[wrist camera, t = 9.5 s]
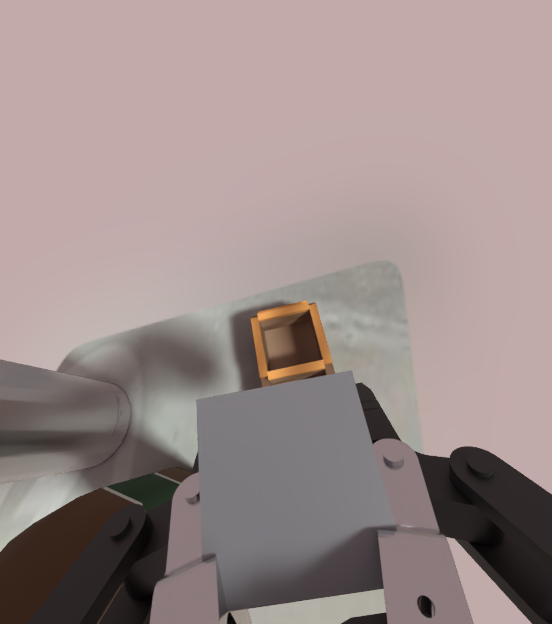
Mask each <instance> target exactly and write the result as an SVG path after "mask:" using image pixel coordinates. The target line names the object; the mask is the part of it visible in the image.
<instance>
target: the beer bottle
mask: <svg viewBox="0 0 552 624" xmlns="http://www.w3.org/2000/svg"><path fill="white" fill-rule="evenodd" d="M189 476H191V472H188V471H186V470H183V469H181V468H178V467H177V468H170V469H166V470H163V471H159V472H156V473H152V474H149V475H145V476H142V477H138V478H135V479H131V480H128V481H124V482H121V483H117V484H114V485H110V486H107V487H103V488H100V489H98V490H95V491H93V492H90V493H88V494H85V495H83V496H80V497H78V498H76V499H75V500H73V501H71V502H69V503H68V504H66V505H64V506H63V507H61V508H59V509H58V510H56V511H54V512H52V513H51V514H49V515H47V516H46V517H44V518H42V519H41V520H39V521H37V522H35V523H34V524H32V525H31V526H30V527H28V528H27V529H26V530H24V531H23V532H22V533H20V534H19V535H18V536H16V537H15V538H14V539H12V540H11V541H10V542H9V543H8V544H7V545H6V546H5V548H4V549H3V550H2V551H1V552H0V624H27V623H28V622H29V620H30V619H31V618H32V617H33V615H34V614H35V613H36V611H37V610H38V609H39V608H40V606H41V605H42V604H43V602H44V601H45V600H46V599H47V597H48V596H49V595H50V593H51V592H52V591H53V589H54V588H55V587H56V586H57V584H58V583H59V582H60V580H61V579H62V578H63V577H64V575H65V574H66V573H67V571H68V570H69V569H70V568H71V566H72V565H73V564H74V562H75V561H76V560H77V559H78V557H79V556H80V555H81V553H82V552H83V551H84V550H85V548H86V547H87V546H88V544H89V543H90V542H91V541H92V539H93V538H94V537H95V535H96V534H97V533H98V532H99V530H100V529H101V528H102V526H103V525H104V524H105V523H106V521H107V520H108V519H109V518H110V517H111V516H112V515H113V514H114V513H116V512H117V511H118V510H120V509H121V508H123V507H125V506H127V505H131V504H140V505H142V506H143V507H144V509H145V510H146V512H147V511H149V510H151V509H153V508H155V507H157V506H159V505H161V504H163V503H165V502H167V501H169V500H170V499H172V498H173V496H174V493H175V491H176V489H177V488H178V486H179V485H180V484H181V483H182V482H183V481H184V480H185V479H186V478H188V477H189ZM121 586H122V585H120V587H119V589H120V588H121ZM119 589H118V590H117V592H118V591H119ZM117 592H116V593H115V595H114V597H115V596H116V594H117ZM114 597H113V598H112V600H111V602H112V601H113V599H114ZM111 602H110V603H109V605H108V606H107V608H106V610H107V609H108V607H109V606H110V604H111ZM106 610H105V611H104V613H103V615H104V614H105V612H106ZM103 615H102V616H101V618H100V620H101V619H102V617H103ZM100 620H99V621H98V623H97V624H99V622H100Z"/></svg>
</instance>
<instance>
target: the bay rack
mask: <svg viewBox="0 0 552 624" xmlns="http://www.w3.org/2000/svg"><path fill="white" fill-rule="evenodd" d="M257 315H258V316H254V317H251V324H252V330H253V337H254V343H255V350H256V356H257V363H258V369H259V376H260V378H261V383H262V387H267V386H272V385H277V384H283V383H288V382H293V381H298V380H304V379H309V378H314V377H320V376H325V375H330V374H335V372H334V368H333V365H332V359H331V355H330V352H329V348H328V345H327V341H326V337H325V334H324V330H323V327H322V323H321V320H320V316H319V313H318V309H317V305H316V304H315V303H310V304H308V302H307V301H302V302H298V303H294V304H289V305H285V306H281V307H276V308H272V309H268V310H263V311H259V312H258V314H257Z"/></svg>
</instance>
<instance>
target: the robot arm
mask: <svg viewBox="0 0 552 624" xmlns="http://www.w3.org/2000/svg"><path fill="white" fill-rule="evenodd" d="M356 388H357V391H358V395H359V398H360V402H361V405H362V409H363V412H364V416H365V419H366V423H367V427H368V430H369V434H370V437H371V441H372V444H373V448H374V451H375V455H376V458H377V462H378V465H379V469H380V472H381V476H382V479H383V483H384V486H385V490H386V493H387V497H388V500H389V504H390V507H391V511H392V514H393V518H394V521H395V525H396V528H397V529H387V528H377V531H378V540H379V549H380V558H381V568H382V577H383V586H384V596H385V605H386V613H380V614H373V615H367V616H360V617H353V618H350V619H348V620H347V621H345V622H343V623H342V624H474V623H473V620H472V617H471V614H470V610H469V608H468V604H467V601H466V598H465V594H464V591H463V588H462V585H461V581H460V578H459V575H458V572H457V569H456V565H455V563H454V559H453V556H452V553H451V550H450V547H449V544H448V541H447V539H446V537H450V538H455V539H456V541H457V542H458V543H459V544H460V545H461V546H462V547H463V548H464V549H465V550H466V552H467V553H468V554H469V555H470V556H471V557H472V558H473V559H474V560H475V561H476V563H477V564H478V565H479V566H480V567H481V568H482V569H483V570H484V571H485V572H486V573H487V575H488V576H489V577H490V578H491V579H492V580H493V581H494V582H495V583H496V584H497V586H498V587H499V588H500V589H501V590H502V591H503V592H504V593H505V594H506V595H507V596H508V598H509V599H510V600H511V601H512V602H513V603H514V604H515V605H516V606H517V608H518V609H519V610H520V611H521V612H522V613H523V614H524V615H525V616H526V617H527V618H528V619H529V621H530V622H531V623H532V624H552V494H550V493H549V492H547V491H545V490H544V489H543V488H542V487H540V486H539V485H537V484H536V483H534V482H533V481H532V480H530V479H529V478H527V477H526V476H524V475H523V474H521V473H520V472H518V471H517V470H516V469H514V468H513V467H511V466H510V465H508V464H507V463H505V462H504V461H503V460H501V459H500V458H498V457H497V456H495V455H494V454H492V453H490V452H488V451H486V450H483V449H480V448H477V447H460V448H457V449H456V450H454V451H453V452H452V453H451V455H450V458H445V457H437V456H429V455H424V454H421V453H418V452H416V451H414V450H413V449H412V448H411V447H410V446H408V445H407V444H406V443H404V442H402V441H401V440H400V438H399V437H398V435H397V433H396V432H395V430H394V428H393V427H392V425H391V423H390V421H389V420H388V418H387V416H386V415H385V413H384V411H383V409H382V408H381V406H380V404H379V403H378V401H377V400H376V398H375V396H374V394H373V392H372V391H371V389H369V388H368V387H367V386H365V385H364V384H363V383H357V384H356ZM130 417H131V410H130V403H129V399H128V397H127V395H126V394H125V392H124V391H123V390H122V389H121V388H120V387H118V386H116V385H115V384H111V383H107V382H102V381H97V380H93V379H88V378H84V377H79V376H75V375H70V374H65V373H61V372H56V371H51V370H47V369H41V368H37V367H32V366H28V365H23V364H18V363H13V362H9V361H4V360H0V484H3V483H8V482H14V481H19V480H25V479H30V478H36V477H41V476H47V475H53V474H59V473H64V472H69V471H75V470H80V469H85V468H91V467H94V466H96V465H98V464H101V463H102V462H103V461H105V460H106V459H108V458H109V457H110V456H111V455H112V454H113V453H114V452H115V451H116V450H117V448H118V447H119V446H120V444H121V443H122V441H123V439H124V437H125V435H126V433H127V430H128V427H129V424H130ZM120 585H122V586H121V588H120V589H119V587H120ZM118 589H119V591H118V592H117V590H118ZM116 592H117V594H116V596H115V597H114V595H115V593H116ZM113 597H114V599H113V601H112V602H111V600H112V598H113ZM110 602H111V604H110V606H109V607H108V609H107V610H106V608H107V606H108V605H109V603H110ZM105 610H106V612H105V614H104V615H103V613H104V611H105ZM102 615H103V617H102V619H101V620H100V618H101V616H102ZM99 620H100V622H99V624H252V622H251V618H250V615H249V611H248V609H243V610H236V611H229V612H228V610H227V605H226V600H225V595H224V590H223V585H222V581H221V576H220V571H219V566H218V561H217V556H216V555H215V556H212V557H209V558H207V559H204V560H202V548H201V519H200V490H199V460H198V453H197V456H196V459H195V463H194V466H193V470H192V473H191V476H189V477H188V478H186V479H185V480H184V481H183V482H182V483H181V484H180V485H179V486H178V488H177V489H176V491H175V493H174V496H173V498H172V499H170V500H169V501H167V502H165V503H163V504H161V505H159V506H157V507H155V508H153V509H151V510H149V511H147V512H146V510H145V509H144V507H143V506H142V505H140V504H131V505H127V506H125V507H123V508H121V509H120V510H118V511H117V512H116V513H114V514H113V515H112V516H111V517H110V518H109V519H108V520H107V521H106V523H105V524H104V525H103V526H102V528H101V529H100V530H99V532H98V533H97V534H96V535H95V537H94V538H93V539H92V541H91V542H90V543H89V544H88V546H87V547H86V548H85V550H84V551H83V552H82V553H81V555H80V556H79V557H78V559H77V560H76V561H75V562H74V564H73V565H72V566H71V568H70V569H69V570H68V571H67V573H66V574H65V575H64V577H63V578H62V579H61V580H60V582H59V583H58V584H57V586H56V587H55V588H54V589H53V591H52V592H51V593H50V595H49V596H48V597H47V599H46V600H45V601H44V602H43V604H42V605H41V606H40V608H39V609H38V610H37V611H36V613H35V614H34V615H33V617H32V618H31V619H30V620H29V622H28V623H27V624H97V623H98V621H99Z"/></svg>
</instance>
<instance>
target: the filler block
mask: <svg viewBox="0 0 552 624" xmlns="http://www.w3.org/2000/svg"><path fill="white" fill-rule="evenodd" d="M196 401H197V431H198V460H199V490H200V519H201V548H202V560H204V559H207V558H209V557H212V556H215V555H216V556H217V561H218V566H219V571H220V576H221V581H222V585H223V590H224V595H225V600H226V605H227V610H228V612H229V611H236V610H243V609H249V608H256V607H263V606H270V605H276V604H283V603H290V602H296V601H303V600H310V599H317V598H323V597H330V596H337V595H343V594H350V593H357V592H364V591H370V590H377V589H384V586H383V577H382V568H381V558H380V549H379V540H378V531H377V528H387V529H397V528H396V525H395V521H394V518H393V514H392V511H391V507H390V504H389V500H388V497H387V493H386V490H385V486H384V483H383V479H382V476H381V472H380V469H379V465H378V462H377V458H376V455H375V451H374V448H373V444H372V441H371V437H370V434H369V430H368V427H367V423H366V419H365V416H364V412H363V409H362V405H361V402H360V398H359V395H358V391H357V388H356V384H355V381H354V377H353V374H352V371H346V372H341V373H336V374H330V375H325V376H320V377H314V378H309V379H304V380H298V381H293V382H288V383H283V384H277V385H272V386H267V387H261V388H256V389H251V390H245V391H240V392H235V393H230V394H224V395H219V396H214V397H208V398H203V399H198V400H196Z"/></svg>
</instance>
